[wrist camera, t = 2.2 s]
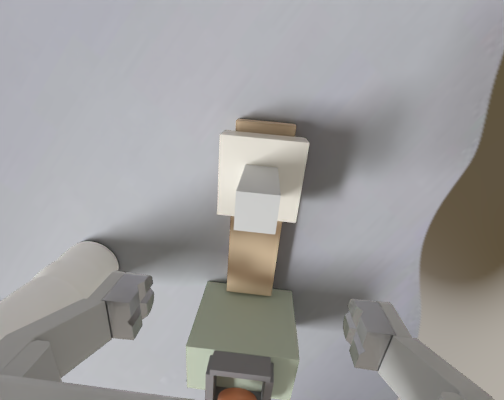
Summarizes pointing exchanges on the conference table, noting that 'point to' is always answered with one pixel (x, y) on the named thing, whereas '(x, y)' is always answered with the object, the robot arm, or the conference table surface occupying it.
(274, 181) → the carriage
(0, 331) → the water bottle
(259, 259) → the block
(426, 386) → the robot arm
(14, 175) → the conference table surface
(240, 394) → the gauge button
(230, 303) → the end cabinet
